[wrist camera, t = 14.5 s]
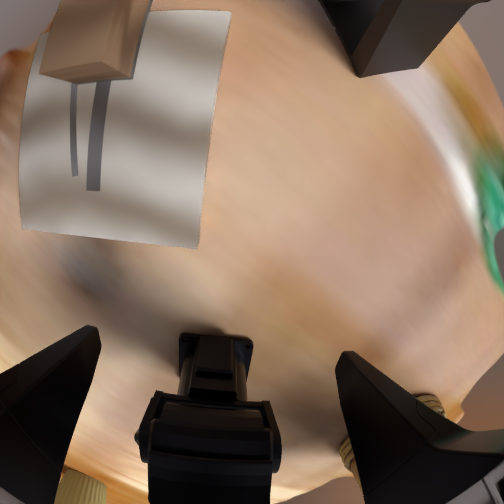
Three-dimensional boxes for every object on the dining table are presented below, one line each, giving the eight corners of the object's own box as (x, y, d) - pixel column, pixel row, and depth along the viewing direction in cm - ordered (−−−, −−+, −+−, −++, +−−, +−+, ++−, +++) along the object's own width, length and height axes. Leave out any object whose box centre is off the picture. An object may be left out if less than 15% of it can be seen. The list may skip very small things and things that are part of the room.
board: (199, 243, 20) (197, 249, 19) (29, 224, 18) (21, 229, 17) (231, 18, 14) (231, 11, 13) (47, 37, 12) (40, 34, 11)
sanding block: (133, 79, 14) (100, 61, 10) (78, 84, 14) (38, 73, 9) (153, -3, 12) (133, -36, 7) (99, 5, 11) (69, -20, 7)
